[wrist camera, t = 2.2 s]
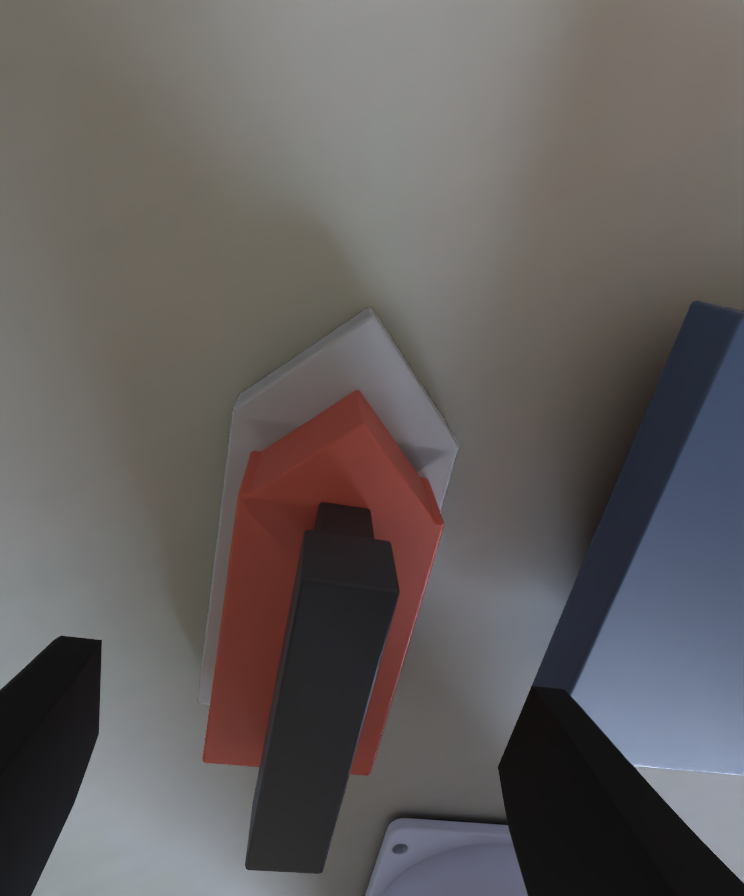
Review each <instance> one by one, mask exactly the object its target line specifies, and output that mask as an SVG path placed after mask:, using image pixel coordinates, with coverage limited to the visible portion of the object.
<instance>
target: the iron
mask: <svg viewBox="0 0 744 896" xmlns="http://www.w3.org/2000/svg"><path fill="white" fill-rule="evenodd" d="M232 410H233V412H232V418H231V426H230V435H229V443H228V451H227V459H226V468H225V476H224V484H223V492H222V501H221V509H220V517H219V525H218V534H217V542H216V550H215V558H214V567H213V575H212V583H211V591H210V599H209V608H208V616H207V624H206V632H205V641H204V649H203V657H202V665H201V674H200V682H199V690H198V698H197V700H198V703H200V704H210V708H209V715H208V723H207V730H206V738H205V745H204V753H203V762H205V763H215V764H228V765H240V766H253V767H259V773H258V778H257V783H256V789H255V794H254V799H253V806H252V814H251V822H250V830H249V838H248V846H247V854H246V862H245V866H246V869H247V870H259V871H278V872H296V873H315V874H320V873H322V871H323V868H324V865H325V861H326V858H327V854H328V850H329V847H330V843H331V839H332V836H333V832H334V829H335V825H336V821H337V818H338V814H339V811H340V807H341V803H342V800H343V796H344V793H345V789H346V785H347V782H348V778H349V774H353V775H366V776H368V775H370V773H371V770H372V767H373V763H374V760H375V757H376V753H377V750H378V746H379V743H380V740H381V736H382V733H383V730H384V726H385V723H386V719H387V716H388V713H389V709H390V706H391V703H392V699H393V696H394V692H395V689H396V686H397V682H398V679H399V676H400V672H401V669H402V665H403V662H404V659H405V655H406V652H407V649H408V645H409V642H410V639H411V635H412V632H413V628H414V625H415V622H416V618H417V615H418V612H419V608H420V605H421V601H422V598H423V595H424V591H425V588H426V585H427V581H428V578H429V574H430V571H431V568H432V564H433V561H434V558H435V554H436V551H437V548H438V544H439V541H440V537H441V534H442V531H443V527H444V521H443V518H442V515H441V513H440V511H441V507H442V504H443V501H444V497H445V494H446V490H447V487H448V483H449V480H450V476H451V473H452V470H453V466H454V463H455V459H456V456H457V452H458V449H459V444H458V442H457V440H456V438H455V437H454V435H453V433H452V431H451V429H450V428H449V426H448V425H447V423H446V422H445V420H444V419H443V417H442V415H441V414H440V412H439V411H438V409H437V408H436V406H435V405H434V403H433V402H432V400H431V398H430V397H429V395H428V394H427V392H426V391H425V389H424V388H423V386H422V385H421V383H420V381H419V380H418V378H417V377H416V375H415V374H414V372H413V371H412V369H411V368H410V366H409V364H408V363H407V361H406V360H405V358H404V357H403V355H402V354H401V352H400V351H399V349H398V347H397V346H396V344H395V343H394V341H393V340H392V338H391V337H390V335H389V334H388V332H387V330H386V329H385V327H384V326H383V324H382V323H381V321H380V320H379V318H378V317H377V315H376V313H375V312H374V310H373V309H372V308H370V307H369V308H366V309H365V310H363V311H362V312H360V313H359V314H357V315H356V316H354V317H353V318H351V319H350V320H348V321H347V322H345V323H344V324H343V325H341V326H340V327H338V328H337V329H335V330H334V331H332V332H331V333H329V334H328V335H326V336H325V337H323V338H322V339H320V340H319V341H317V342H316V343H314V344H313V345H312V346H310V347H309V348H307V349H306V350H304V351H303V352H301V353H300V354H298V355H297V356H295V357H294V358H292V359H291V360H289V361H288V362H286V363H285V364H283V365H282V366H281V367H279V368H278V369H276V370H275V371H273V372H272V373H270V374H269V375H267V376H266V377H264V378H263V379H261V380H260V381H258V382H257V383H255V384H254V385H252V386H251V387H250V388H248V389H247V390H245V391H244V392H242V393H241V394H239V396H238V398H237V400H236V402H235V404H234V406H233V409H232Z"/></svg>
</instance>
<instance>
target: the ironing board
mask: <svg viewBox="0 0 744 896" xmlns="http://www.w3.org/2000/svg"><path fill="white" fill-rule="evenodd" d="M532 686H539V687H549V688H558V689H565V690H566V691H567V692H568V694H569V695H570V696H571V697H572V698H573V699H574V700H575V701H576V702H577V703H578V704H579V705H580V706H581V708H582V709H583V710H584V711H585V712H586V713H587V714H588V715H589V717H590V718H591V719H592V720H593V721H594V722H595V723H596V724H597V726H598V727H599V728H600V729H601V730H602V731H603V732H604V734H605V735H606V736H607V737H608V738H609V739H610V740H611V742H612V743H613V744H614V745H615V746H616V747H617V748H618V750H619V751H620V752H621V753H622V754H623V755H624V756H625V757H626V759H627V760H628V761H629V762H630V763H631V764H632V765H633V766H641V767H653V768H664V769H675V770H687V771H698V772H709V773H721V774H732V775H743V776H744V311H741V310H737V309H732V308H728V307H723V306H719V305H714V304H710V303H705V302H701V301H694V302H692V303H691V305H690V307H689V310H688V312H687V314H686V317H685V319H684V322H683V324H682V326H681V329H680V331H679V334H678V336H677V338H676V341H675V343H674V346H673V348H672V350H671V353H670V355H669V358H668V360H667V362H666V365H665V367H664V370H663V372H662V374H661V377H660V379H659V382H658V384H657V386H656V389H655V391H654V394H653V396H652V398H651V401H650V403H649V406H648V408H647V410H646V413H645V415H644V418H643V420H642V422H641V425H640V427H639V430H638V432H637V434H636V437H635V439H634V442H633V444H632V446H631V449H630V451H629V454H628V456H627V458H626V461H625V463H624V466H623V468H622V470H621V473H620V475H619V478H618V480H617V482H616V485H615V487H614V490H613V492H612V494H611V497H610V499H609V502H608V504H607V506H606V509H605V511H604V514H603V516H602V518H601V521H600V523H599V526H598V528H597V530H596V533H595V535H594V538H593V540H592V542H591V545H590V547H589V550H588V552H587V554H586V557H585V559H584V562H583V564H582V566H581V569H580V571H579V574H578V576H577V578H576V581H575V583H574V586H573V588H572V590H571V593H570V595H569V598H568V600H567V602H566V605H565V607H564V610H563V612H562V614H561V617H560V619H559V622H558V624H557V626H556V629H555V631H554V634H553V636H552V638H551V641H550V643H549V646H548V648H547V650H546V653H545V655H544V658H543V660H542V662H541V665H540V667H539V670H538V672H537V674H536V677H535V679H534V682H533V684H532ZM532 686H531V687H532ZM529 692H530V691H529ZM526 699H527V698H526ZM524 704H525V703H524Z"/></svg>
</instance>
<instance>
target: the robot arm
mask: <svg viewBox="0 0 744 896" xmlns="http://www.w3.org/2000/svg"><path fill="white" fill-rule="evenodd" d="M101 646H102V640H95V639H86V638H76V637H67V636H60V637H58V638H57V639H55V640H54V641H52V642H51V643H50V644H49V645H48V646H47V647H46V648H45V649H44V650H43V651H42V652H41V653H40V654H39V655H38V656H36V657H35V658H34V659H33V660H32V661H31V662H30V663H29V664H28V665H27V666H26V667H25V668H24V669H23V670H22V671H20V672H19V673H18V674H17V675H16V676H15V677H14V678H13V679H12V680H11V681H10V682H9V683H7V684H6V685H5V686H4V687H3V688H2V689H1V690H0V896H31V895H32V892H33V890H34V888H35V886H36V884H37V882H38V880H39V878H40V876H41V873H42V871H43V869H44V867H45V865H46V863H47V861H48V858H49V856H50V854H51V852H52V850H53V848H54V846H55V843H56V841H57V839H58V837H59V835H60V833H61V831H62V828H63V826H64V824H65V822H66V820H67V818H68V815H69V813H70V811H71V809H72V807H73V805H74V802H75V799H76V797H77V794H78V791H79V788H80V786H81V783H82V780H83V777H84V775H85V772H86V769H87V766H88V763H89V760H90V757H91V754H92V752H93V749H94V746H95V743H96V740H97V737H98V734H99V708H100V677H101ZM498 770H499V776H500V782H501V788H502V794H503V800H504V806H505V811H506V816H507V821H508V825H499V824H485V823H471V822H456V821H442V820H427V819H413V818H399V819H396V820H394V821H393V822H391V823H390V824H389V826H388V828H387V831H386V834H385V837H384V840H383V843H382V846H381V849H380V852H379V855H378V858H377V861H376V864H375V867H374V870H373V873H372V876H371V879H370V882H369V885H368V888H367V891H366V894H365V896H744V883H743V882H742V881H741V880H740V879H739V878H738V877H737V876H736V875H735V874H734V873H733V872H732V871H731V870H730V869H729V868H728V867H727V866H726V865H725V864H724V863H723V862H722V861H721V860H720V859H719V858H718V857H717V856H716V855H715V854H714V853H713V852H712V851H711V850H710V849H709V848H708V847H707V846H706V845H705V844H704V843H703V842H702V841H701V839H700V838H699V837H698V836H697V835H696V834H695V833H694V832H693V831H692V830H691V829H690V828H689V827H688V826H687V825H686V824H685V823H684V821H683V820H682V819H681V818H680V817H679V816H678V815H677V814H676V813H675V812H674V811H673V810H672V809H671V807H670V806H669V805H668V804H667V803H666V802H665V801H664V800H663V799H662V798H661V797H660V795H659V794H658V793H657V792H656V791H655V790H654V789H653V788H652V787H651V786H650V784H649V783H648V782H647V781H646V780H645V779H644V778H643V777H642V775H641V774H640V773H639V772H638V771H637V770H636V769H635V768H634V767H633V765H632V764H631V763H630V762H629V761H628V760H627V759H626V757H625V756H624V755H623V754H622V753H621V752H620V751H619V750H618V748H617V747H616V746H615V745H614V744H613V743H612V742H611V740H610V739H609V738H608V737H607V736H606V735H605V734H604V732H603V731H602V730H601V729H600V728H599V727H598V726H597V724H596V723H595V722H594V721H593V720H592V719H591V718H590V717H589V715H588V714H587V713H586V712H585V711H584V710H583V709H582V708H581V706H580V705H579V704H578V703H577V702H576V701H575V700H574V699H573V698H572V697H571V696H570V695H569V694H568V692H567V691H566V690H565V689H558V688H549V687H539V686H532V687H531V689H530V692H529V694H528V696H527V699H526V701H525V704H524V706H523V708H522V711H521V713H520V716H519V718H518V720H517V723H516V725H515V727H514V730H513V732H512V735H511V737H510V739H509V742H508V744H507V747H506V749H505V751H504V754H503V756H502V758H501V761H500V763H499V766H498Z"/></svg>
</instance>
